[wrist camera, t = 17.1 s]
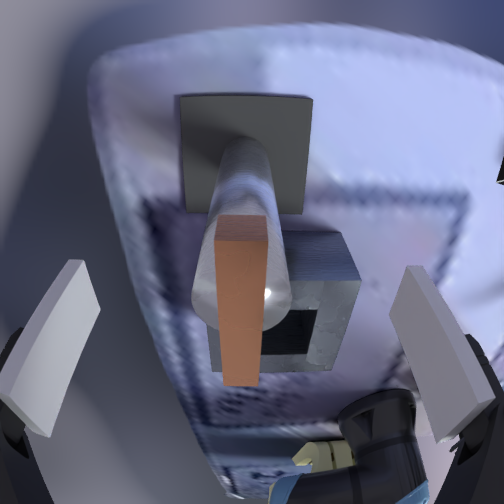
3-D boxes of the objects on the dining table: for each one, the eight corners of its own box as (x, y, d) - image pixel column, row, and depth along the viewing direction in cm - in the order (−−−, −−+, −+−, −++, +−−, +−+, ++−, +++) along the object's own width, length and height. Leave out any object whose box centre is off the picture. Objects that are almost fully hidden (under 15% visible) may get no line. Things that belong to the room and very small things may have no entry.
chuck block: (320, 321, 36) (331, 370, 30) (216, 321, 36) (212, 371, 30) (340, 232, 29) (361, 280, 23) (210, 229, 29) (201, 279, 23)
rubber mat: (301, 211, 28) (302, 214, 27) (187, 210, 28) (186, 212, 27) (311, 98, 22) (313, 99, 22) (181, 96, 22) (179, 97, 21)
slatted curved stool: (397, 429, 59) (412, 495, 45) (367, 453, 68) (377, 509, 54) (272, 437, 56) (275, 516, 42) (258, 458, 65) (259, 523, 51)
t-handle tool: (270, 116, 22) (310, 241, 8) (266, 198, 26) (284, 385, 12) (222, 115, 22) (172, 240, 8) (223, 197, 26) (197, 384, 12)
